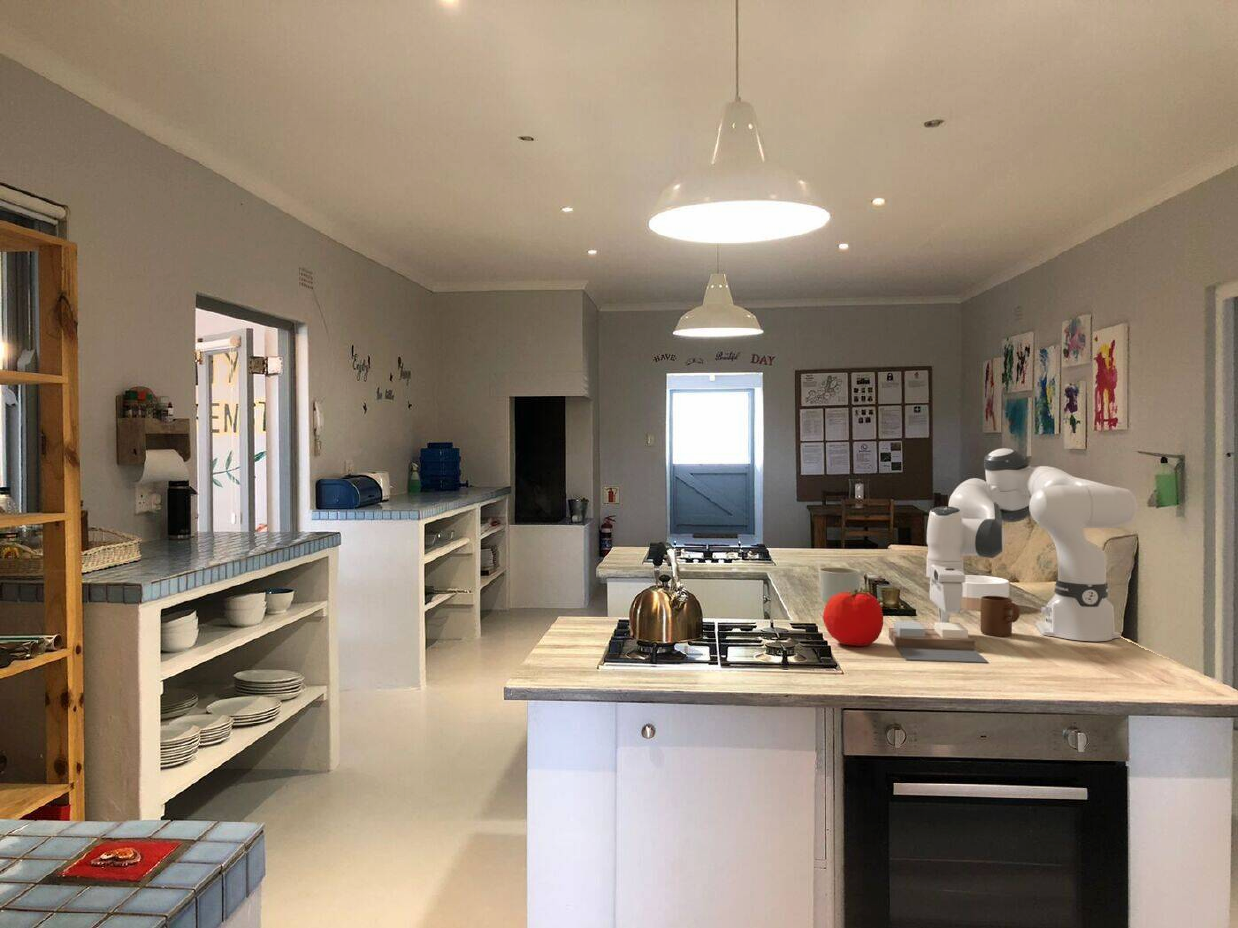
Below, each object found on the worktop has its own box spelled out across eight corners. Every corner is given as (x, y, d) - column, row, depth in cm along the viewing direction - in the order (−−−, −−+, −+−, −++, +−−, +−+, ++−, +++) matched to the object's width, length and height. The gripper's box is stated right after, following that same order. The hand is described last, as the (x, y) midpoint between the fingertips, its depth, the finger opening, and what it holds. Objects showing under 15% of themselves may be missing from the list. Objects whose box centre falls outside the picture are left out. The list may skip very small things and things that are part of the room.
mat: (896, 648, 216) (896, 647, 216) (974, 650, 213) (974, 649, 213) (906, 660, 204) (906, 658, 204) (988, 663, 202) (988, 661, 202)
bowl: (969, 612, 263) (969, 584, 262) (937, 602, 279) (937, 575, 279) (1021, 610, 266) (1021, 582, 266) (986, 600, 283) (986, 574, 283)
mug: (1030, 639, 226) (1031, 602, 226) (1005, 641, 224) (1006, 604, 224) (998, 630, 238) (998, 594, 237) (974, 631, 235) (974, 596, 235)
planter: (865, 608, 267) (865, 572, 267) (824, 609, 267) (824, 572, 267) (853, 601, 280) (854, 567, 279) (814, 601, 279) (814, 567, 279)
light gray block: (893, 628, 227) (893, 621, 227) (918, 629, 226) (918, 621, 226) (899, 636, 218) (899, 628, 218) (925, 637, 217) (925, 629, 217)
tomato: (895, 647, 217) (895, 591, 217) (854, 654, 210) (855, 596, 210) (847, 635, 231) (847, 582, 230) (808, 641, 223) (808, 587, 223)
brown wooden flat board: (888, 637, 228) (888, 627, 228) (962, 639, 225) (962, 630, 225) (896, 648, 216) (897, 638, 216) (974, 650, 213) (974, 640, 213)
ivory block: (934, 630, 225) (934, 622, 225) (959, 630, 224) (959, 622, 224) (942, 637, 216) (942, 629, 216) (968, 638, 216) (968, 630, 215)
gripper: (923, 564, 238) (923, 616, 238) (940, 576, 218) (939, 632, 218) (948, 565, 237) (947, 617, 238) (967, 576, 217) (966, 633, 217)
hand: (944, 624), depth 228 cm, fingers closed
